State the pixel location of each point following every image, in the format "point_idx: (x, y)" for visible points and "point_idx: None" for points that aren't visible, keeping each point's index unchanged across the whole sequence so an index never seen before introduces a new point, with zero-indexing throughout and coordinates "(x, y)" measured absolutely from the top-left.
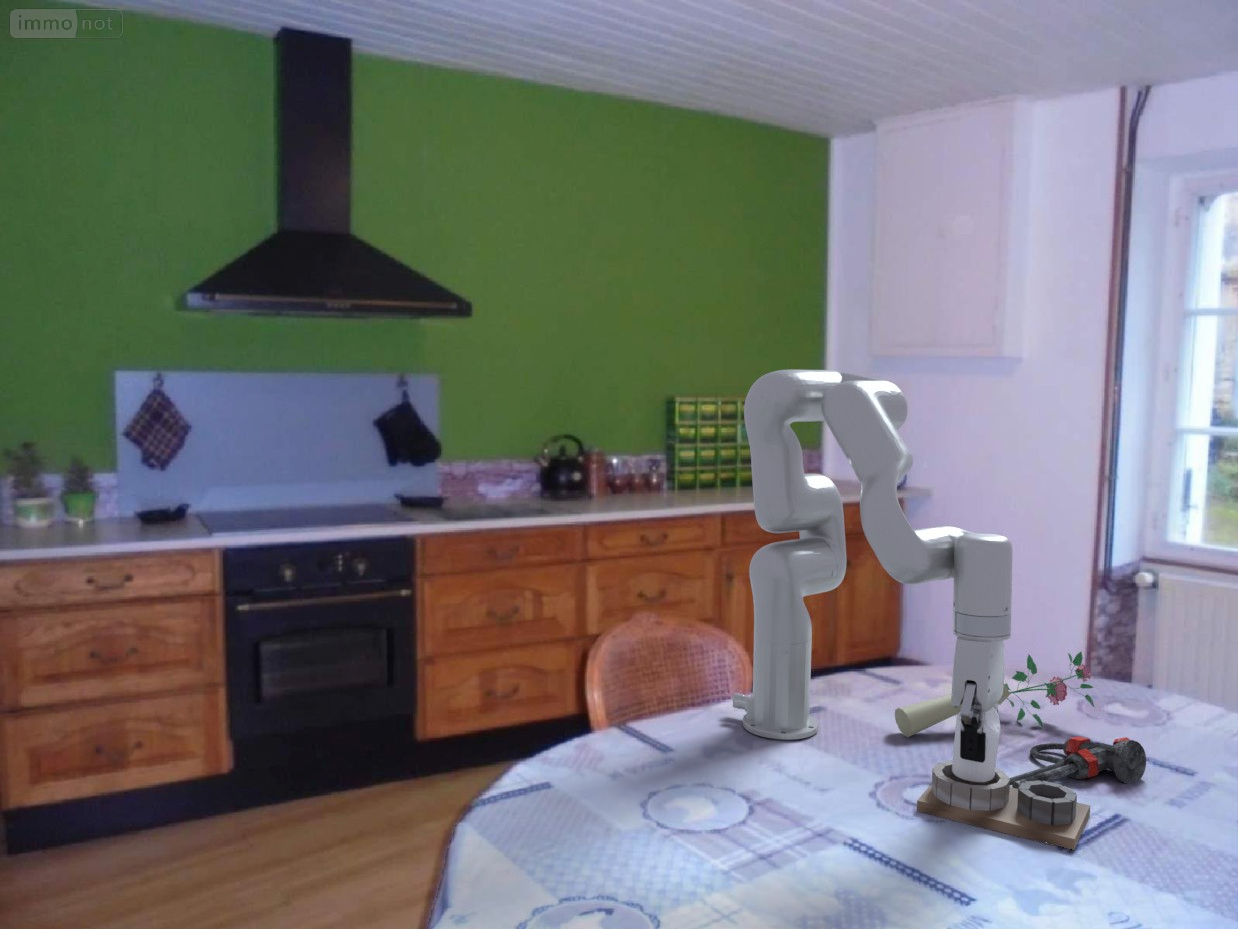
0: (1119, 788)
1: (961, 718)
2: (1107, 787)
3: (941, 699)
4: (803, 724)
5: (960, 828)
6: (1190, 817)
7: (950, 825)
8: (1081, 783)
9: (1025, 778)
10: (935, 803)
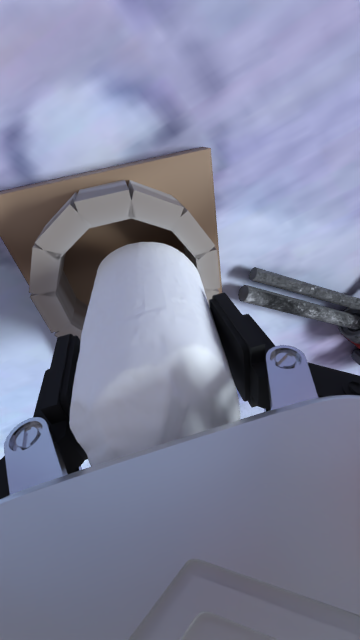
0: (333, 355)
1: (8, 479)
2: (330, 347)
3: None
4: None
5: (17, 300)
6: None
7: (9, 282)
8: (330, 324)
9: (269, 302)
10: (14, 242)
